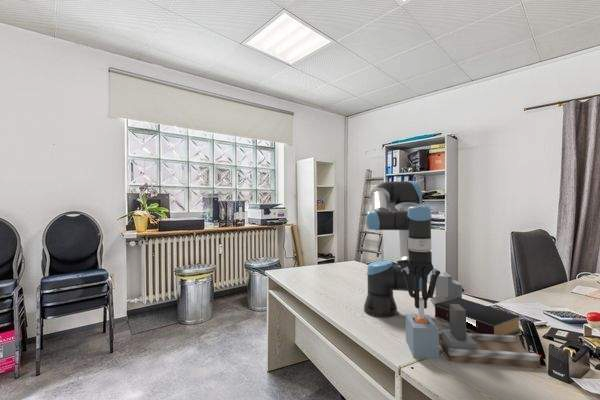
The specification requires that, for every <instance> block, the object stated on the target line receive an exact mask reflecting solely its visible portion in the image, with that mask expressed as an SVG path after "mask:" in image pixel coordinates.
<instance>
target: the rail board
mask: <svg viewBox="0 0 600 400" xmlns="http://www.w3.org/2000/svg"><path fill="white" fill-rule="evenodd" d="M467 333H468V332H467ZM468 335H469V336H470V337H471V338H472V339H473V340H474V341H475V342H476V343H477V350H474V349H458V348H448V347H447V345H446V344H445V342H444V341H443V339H442V338H441V331H439V348H441V350H442V352H443V353H444V355H445V356H446V358H447V360H448V361H449V362H450V363H461V364H473V365H474V364H477V365H489V366H504V367H505V366H507V367H519V368H521V367H522V368H532V369H534V368H535V369H541V361H540V360H541V359H540V358H541V357H540V354H538V353H537V352H530V351H528V350H527V349H526V348H524V346H522V345H521V344H520V343H519V342H518V338H517V337H516V336H515V335H512V334H510V335H493V334H476V333H473V332H470V333H468Z"/></svg>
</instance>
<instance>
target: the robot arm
mask: <svg viewBox="0 0 600 400" xmlns="http://www.w3.org/2000/svg"><path fill="white" fill-rule="evenodd" d="M369 201H370V203H371V210H370V211H369V210H368V211H367V212H366V228H367V229H368V230H371V231H398V234H399V236H398V237H399V256H400V257H399V258H398V259H397V260H396V264H393V263H394V262H393V261H391V260H377V261H372V262H370V263H368V265H367V268H366V269H367V272H366V275H367V295H366V298H365V301H364V305H363V310H364V312H365V313H366V314H368V316H369V315H370V316H373V317H375V318H376V317H379V318H391V317H394V316H396V315H398V306H397V304H396V301H395V297H394V291H400V292H401V291H402V292H407V293H408V295H409V296H410V297H411V298H413V299H414V307H415V308H416V309H417V314H418V317H419V318H420V319H424V314H425V309H426V310H427V308H428V299H431V298H432V297H433V294H434V290H435V285H436V281H437V277H438V276H439V275H440V273H441V271H440V270H438V269H437V268H434V265H433V259H432V258H433V257H432V255H433V254H432V251H431V250H432V211H431V210H432V209H431V207H430V206H427V205H425V206H424V205H421V204H422V203H423V192H422V188H421V185H420V183H419V182H418V181H416V180H414V181H413V180H407V181H406V180H403V181H384V182H382V183H379V184H377V185H376V186H375V187H373V189H372V190H371V191H370V194H369ZM390 205H394V208H395V209H396V210H391V209H390ZM430 272H432V276H431V280H430V279H429V284H428V278H429V276H430V274H431V273H430ZM420 293H421V297H420Z"/></svg>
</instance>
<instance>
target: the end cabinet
mask: <svg viewBox="0 0 600 400" xmlns="http://www.w3.org/2000/svg"><path fill="white" fill-rule="evenodd" d="M415 316H418V313H405V341H406V344H407V346H408V348H409V351H410V353H411V355H412V357H413V358H414V359H427V360H428V359H429V360H440V346H439V332H440V331H439V330H440V329H439V327H438V326H437V324H436V323H435V322H434V320H433V319H432V318H431V316H430V315H429V314H425V313H424V317H426V318H427V324H418V323H415Z"/></svg>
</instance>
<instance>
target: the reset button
mask: <svg viewBox="0 0 600 400" xmlns="http://www.w3.org/2000/svg"><path fill="white" fill-rule="evenodd" d="M415 323H418V324H427V318H426V317H424V319H420V318H419V317H418V316H415Z"/></svg>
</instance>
